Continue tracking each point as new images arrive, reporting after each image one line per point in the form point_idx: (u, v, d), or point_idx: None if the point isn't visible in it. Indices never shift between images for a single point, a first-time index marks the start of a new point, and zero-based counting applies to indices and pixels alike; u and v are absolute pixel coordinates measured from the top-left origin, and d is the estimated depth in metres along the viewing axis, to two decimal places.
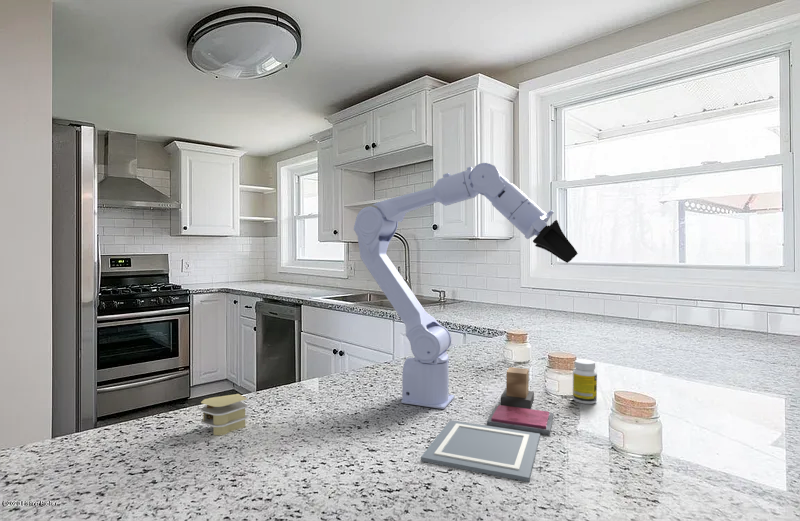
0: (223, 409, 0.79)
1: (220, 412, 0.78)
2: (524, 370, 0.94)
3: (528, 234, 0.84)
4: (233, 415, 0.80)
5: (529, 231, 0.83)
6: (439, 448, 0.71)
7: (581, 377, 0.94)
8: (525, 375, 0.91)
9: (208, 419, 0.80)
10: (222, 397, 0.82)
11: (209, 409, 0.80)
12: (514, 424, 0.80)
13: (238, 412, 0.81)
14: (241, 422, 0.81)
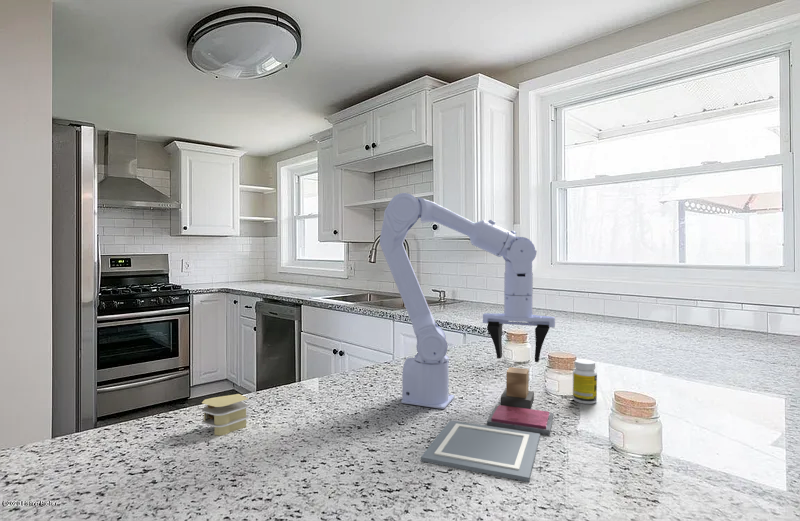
0: (224, 409, 0.79)
1: (221, 412, 0.78)
2: (524, 370, 0.94)
3: (529, 320, 0.90)
4: (234, 415, 0.80)
5: (536, 319, 0.90)
6: (439, 448, 0.71)
7: (581, 377, 0.94)
8: (525, 375, 0.91)
9: (209, 419, 0.80)
10: (223, 397, 0.82)
11: (210, 409, 0.79)
12: (514, 424, 0.80)
13: (239, 412, 0.80)
14: (242, 422, 0.81)
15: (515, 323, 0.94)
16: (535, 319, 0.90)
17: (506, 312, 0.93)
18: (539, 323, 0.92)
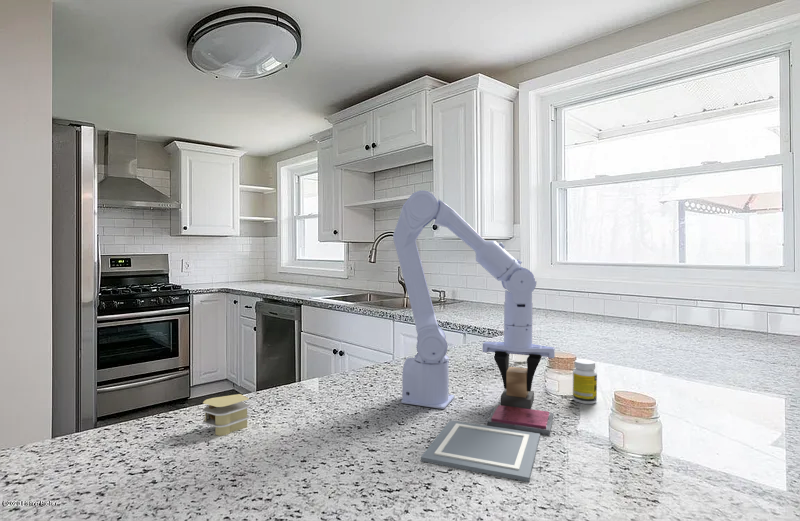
0: (225, 409, 0.79)
1: (222, 412, 0.78)
2: (524, 370, 0.94)
3: (528, 350, 0.91)
4: (235, 415, 0.80)
5: (535, 350, 0.91)
6: (439, 448, 0.71)
7: (581, 377, 0.94)
8: (525, 374, 0.91)
9: (210, 419, 0.80)
10: (224, 397, 0.82)
11: (211, 409, 0.79)
12: (514, 424, 0.80)
13: (240, 412, 0.80)
14: (243, 422, 0.81)
15: (515, 353, 0.94)
16: (535, 350, 0.91)
17: (506, 342, 0.93)
18: (539, 353, 0.92)
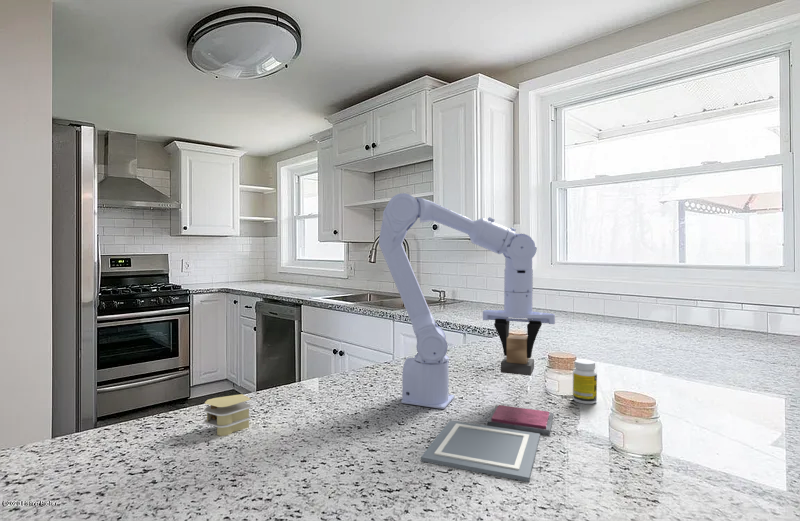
0: (226, 409, 0.79)
1: (224, 412, 0.78)
2: (524, 337, 0.94)
3: (529, 316, 0.90)
4: (237, 415, 0.80)
5: (535, 316, 0.90)
6: (439, 448, 0.71)
7: (581, 377, 0.94)
8: (525, 341, 0.91)
9: (212, 419, 0.80)
10: (226, 397, 0.82)
11: (213, 409, 0.79)
12: (514, 424, 0.80)
13: (242, 412, 0.80)
14: (245, 422, 0.81)
15: (515, 320, 0.94)
16: (535, 316, 0.90)
17: (506, 309, 0.93)
18: (539, 320, 0.92)
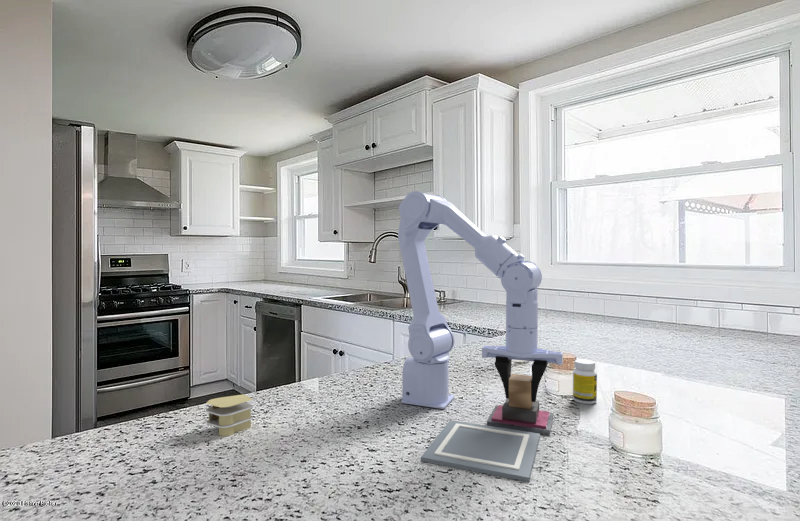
0: (228, 410, 0.79)
1: (226, 413, 0.78)
2: (528, 377, 0.84)
3: (533, 356, 0.81)
4: (239, 415, 0.80)
5: (541, 355, 0.81)
6: (439, 448, 0.71)
7: (581, 377, 0.94)
8: (530, 383, 0.81)
9: (213, 420, 0.80)
10: (227, 397, 0.82)
11: (214, 410, 0.79)
12: (514, 424, 0.80)
13: (243, 413, 0.80)
14: (246, 423, 0.81)
15: (518, 358, 0.84)
16: (540, 355, 0.81)
17: (508, 346, 0.83)
18: (545, 359, 0.82)
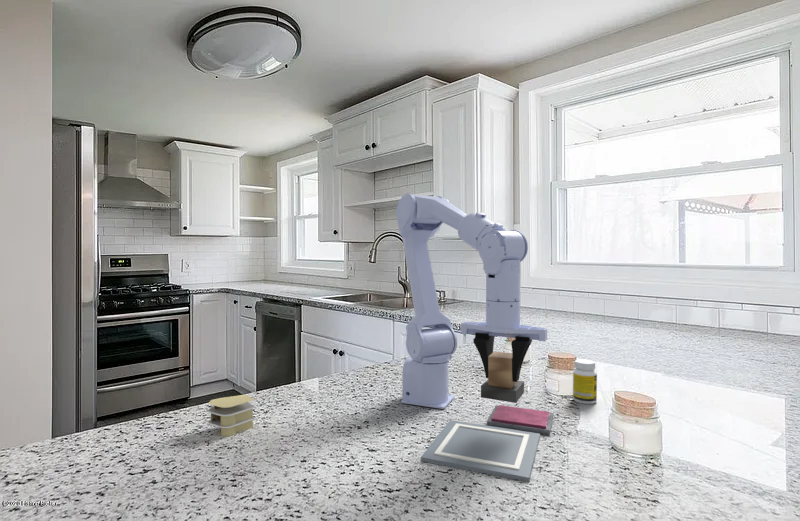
0: (230, 410, 0.79)
1: (227, 413, 0.78)
2: (511, 355, 0.77)
3: (513, 331, 0.74)
4: (241, 416, 0.80)
5: (522, 331, 0.74)
6: (439, 448, 0.71)
7: (581, 377, 0.94)
8: (510, 360, 0.75)
9: (215, 420, 0.80)
10: (229, 397, 0.82)
11: (216, 410, 0.79)
12: (514, 424, 0.80)
13: (245, 413, 0.80)
14: (248, 423, 0.81)
15: (499, 335, 0.77)
16: (521, 331, 0.74)
17: (487, 321, 0.77)
18: (527, 335, 0.75)
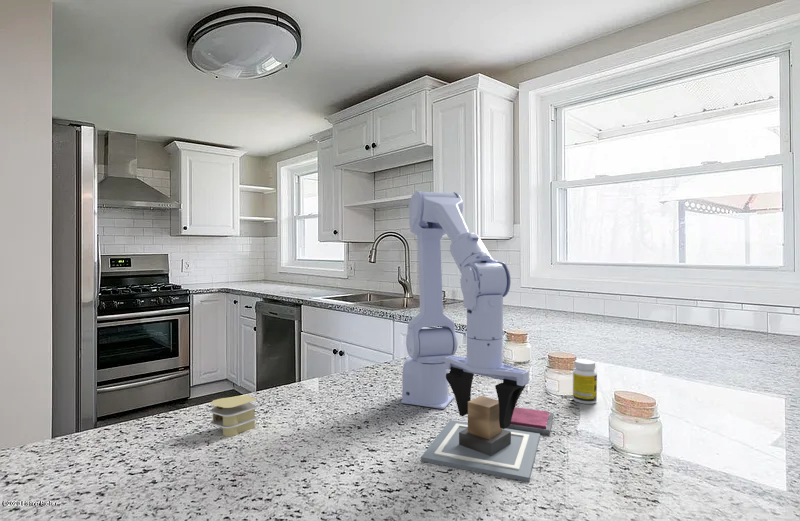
0: (232, 410, 0.79)
1: (230, 413, 0.78)
2: (493, 402, 0.72)
3: (490, 372, 0.69)
4: (243, 416, 0.80)
5: (499, 372, 0.68)
6: (439, 448, 0.71)
7: (581, 377, 0.94)
8: (488, 409, 0.70)
9: (217, 420, 0.80)
10: (231, 398, 0.82)
11: (218, 410, 0.79)
12: (514, 424, 0.80)
13: (247, 413, 0.80)
14: (250, 423, 0.80)
15: (480, 373, 0.72)
16: (498, 372, 0.68)
17: (466, 359, 0.72)
18: (507, 377, 0.69)
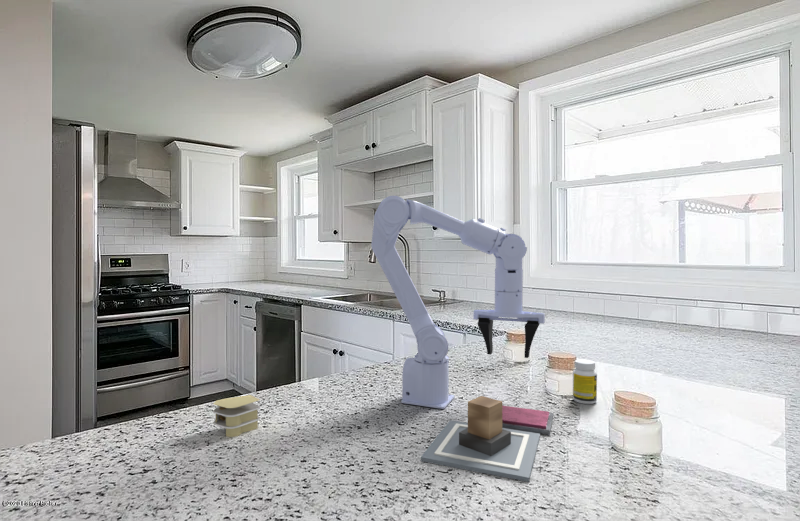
0: (235, 410, 0.79)
1: (233, 413, 0.77)
2: (493, 402, 0.72)
3: (518, 316, 0.91)
4: (246, 416, 0.79)
5: (525, 315, 0.91)
6: (439, 448, 0.71)
7: (581, 377, 0.94)
8: (488, 409, 0.70)
9: (220, 420, 0.80)
10: (234, 398, 0.82)
11: (221, 410, 0.79)
12: (514, 424, 0.80)
13: (250, 413, 0.80)
14: (253, 423, 0.80)
15: (505, 319, 0.94)
16: (525, 315, 0.91)
17: (496, 308, 0.93)
18: (529, 319, 0.92)
